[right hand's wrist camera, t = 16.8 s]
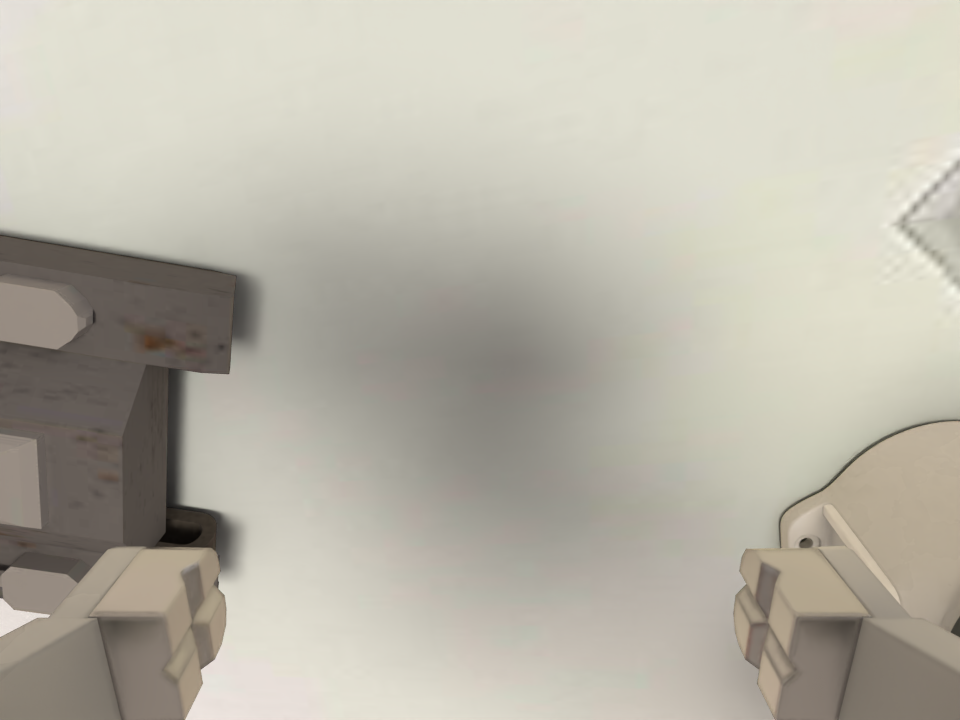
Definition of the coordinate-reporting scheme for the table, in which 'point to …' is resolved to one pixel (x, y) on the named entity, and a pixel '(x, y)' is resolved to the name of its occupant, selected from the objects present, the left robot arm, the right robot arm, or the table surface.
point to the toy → (94, 407)
